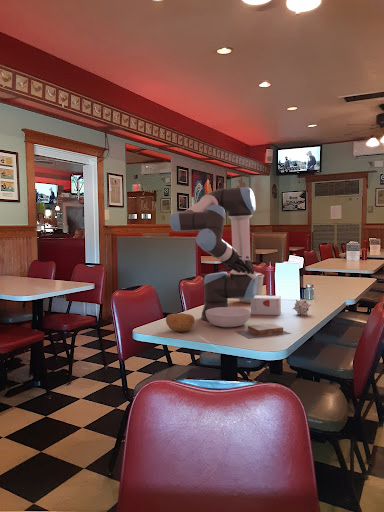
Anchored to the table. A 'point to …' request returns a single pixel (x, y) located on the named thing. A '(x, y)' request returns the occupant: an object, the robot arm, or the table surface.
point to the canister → (259, 287)
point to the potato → (180, 322)
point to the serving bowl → (227, 316)
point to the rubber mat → (251, 335)
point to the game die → (301, 307)
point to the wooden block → (265, 329)
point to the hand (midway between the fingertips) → (254, 275)
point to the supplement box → (266, 305)
